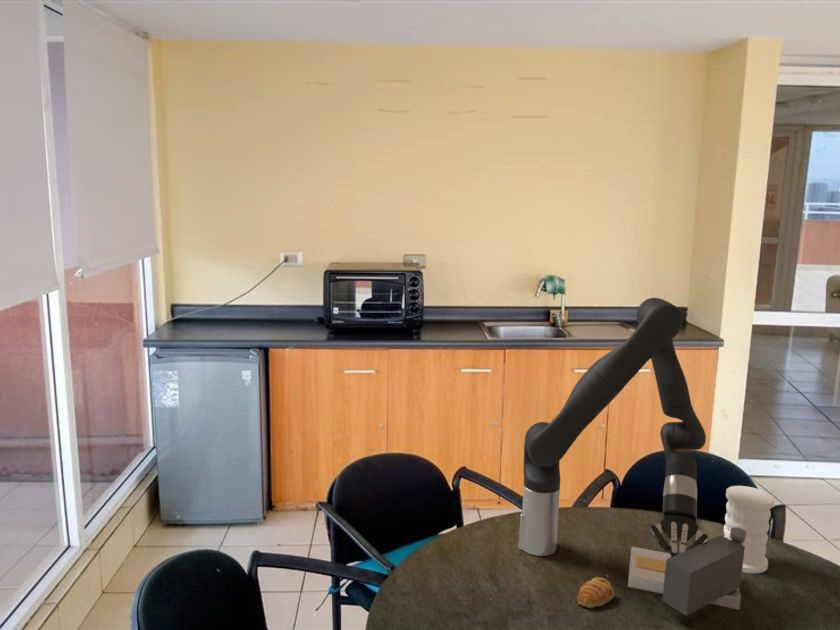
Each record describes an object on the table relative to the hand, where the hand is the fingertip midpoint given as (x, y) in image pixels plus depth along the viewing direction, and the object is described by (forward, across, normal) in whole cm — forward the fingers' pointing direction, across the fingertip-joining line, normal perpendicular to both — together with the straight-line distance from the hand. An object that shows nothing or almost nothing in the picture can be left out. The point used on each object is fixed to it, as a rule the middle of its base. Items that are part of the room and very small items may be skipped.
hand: (677, 571), depth 150 cm
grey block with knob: (+2, +7, +4) cm, 8 cm away
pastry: (+9, -17, +2) cm, 19 cm away
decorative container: (-12, +17, +24) cm, 32 cm away
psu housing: (-1, +2, +12) cm, 13 cm away
